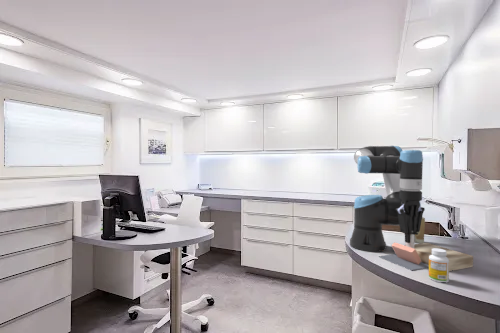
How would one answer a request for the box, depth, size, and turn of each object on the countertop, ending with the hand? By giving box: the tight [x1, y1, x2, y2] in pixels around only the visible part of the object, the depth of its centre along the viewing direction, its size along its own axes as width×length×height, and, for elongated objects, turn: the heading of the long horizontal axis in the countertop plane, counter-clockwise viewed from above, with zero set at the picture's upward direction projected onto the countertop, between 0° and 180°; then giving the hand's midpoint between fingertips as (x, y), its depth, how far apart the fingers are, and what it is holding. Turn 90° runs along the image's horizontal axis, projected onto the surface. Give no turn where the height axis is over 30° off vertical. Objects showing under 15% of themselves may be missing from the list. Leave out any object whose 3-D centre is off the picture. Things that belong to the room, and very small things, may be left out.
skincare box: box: [414, 216, 426, 244], centre depth 133 cm, size 6×4×12 cm
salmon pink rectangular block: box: [391, 242, 421, 265], centre depth 105 cm, size 9×6×2 cm
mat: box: [378, 253, 429, 271], centre depth 105 cm, size 15×10×1 cm
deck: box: [403, 242, 474, 272], centre depth 107 cm, size 18×14×4 cm
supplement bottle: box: [428, 248, 450, 283], centre depth 89 cm, size 5×5×10 cm
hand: (409, 250), depth 106 cm, fingers closed
